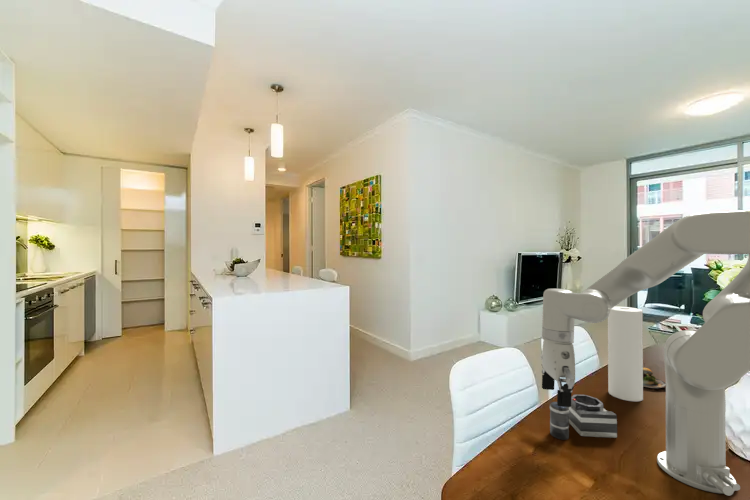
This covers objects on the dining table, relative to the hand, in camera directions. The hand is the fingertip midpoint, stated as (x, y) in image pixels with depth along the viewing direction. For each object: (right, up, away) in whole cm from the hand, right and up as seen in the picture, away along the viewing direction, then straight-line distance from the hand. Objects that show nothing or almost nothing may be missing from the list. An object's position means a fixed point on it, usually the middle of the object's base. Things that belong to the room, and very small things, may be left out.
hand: (555, 397), depth 89 cm
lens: (+1, -10, 0) cm, 10 cm away
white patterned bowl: (+51, -10, +31) cm, 60 cm away
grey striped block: (+11, -10, +4) cm, 16 cm away
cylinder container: (+37, -10, +23) cm, 44 cm away
